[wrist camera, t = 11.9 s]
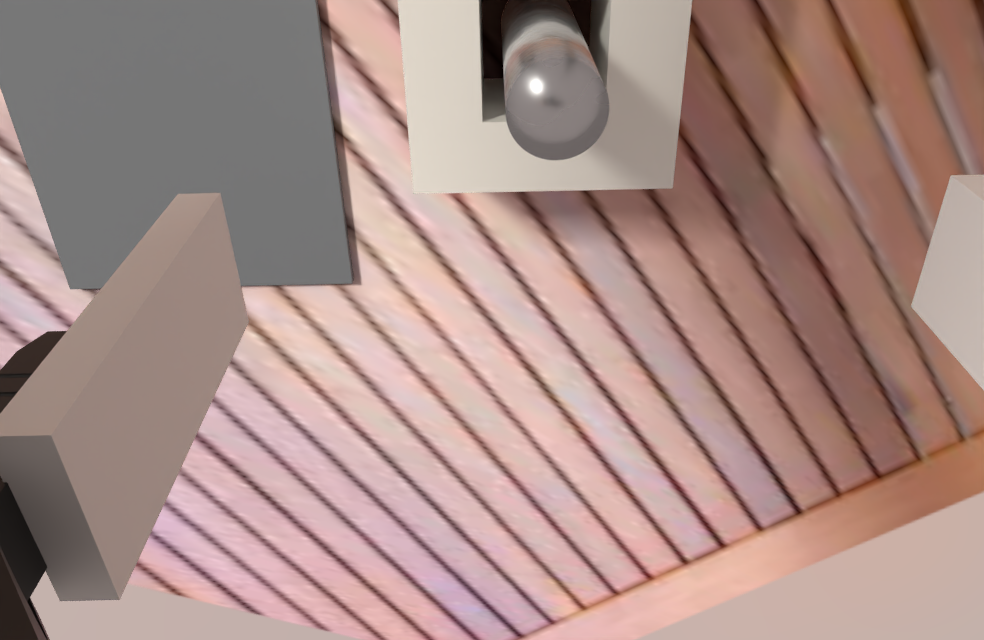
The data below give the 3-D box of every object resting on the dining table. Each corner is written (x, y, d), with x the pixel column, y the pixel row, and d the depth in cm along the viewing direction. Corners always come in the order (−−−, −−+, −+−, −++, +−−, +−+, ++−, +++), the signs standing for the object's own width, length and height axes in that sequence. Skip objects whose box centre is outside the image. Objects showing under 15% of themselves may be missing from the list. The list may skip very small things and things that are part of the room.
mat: (73, 285, 40) (70, 289, 39) (-29, -16, 32) (-35, -14, 32) (353, 279, 40) (352, 283, 39) (314, -24, 32) (312, -22, 32)
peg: (501, 60, 34) (505, 160, 24) (501, -16, 32) (505, 58, 22) (571, 59, 34) (605, 159, 24) (574, -16, 32) (613, 57, 22)
